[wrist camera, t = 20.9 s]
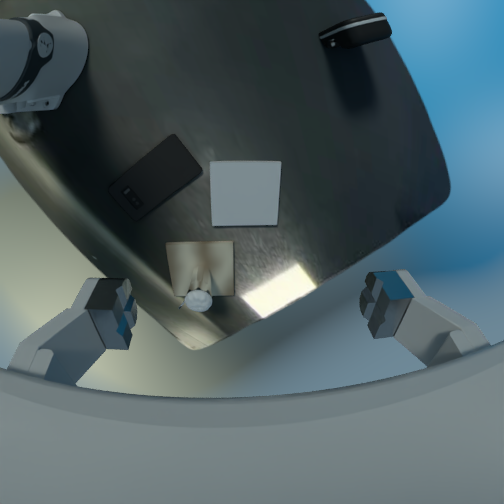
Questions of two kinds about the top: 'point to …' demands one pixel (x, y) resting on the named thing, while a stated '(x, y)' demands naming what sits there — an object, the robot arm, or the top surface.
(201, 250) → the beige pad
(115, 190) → the phone
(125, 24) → the top surface
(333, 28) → the battery charger
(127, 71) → the top surface
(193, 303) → the milkshake
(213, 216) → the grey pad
